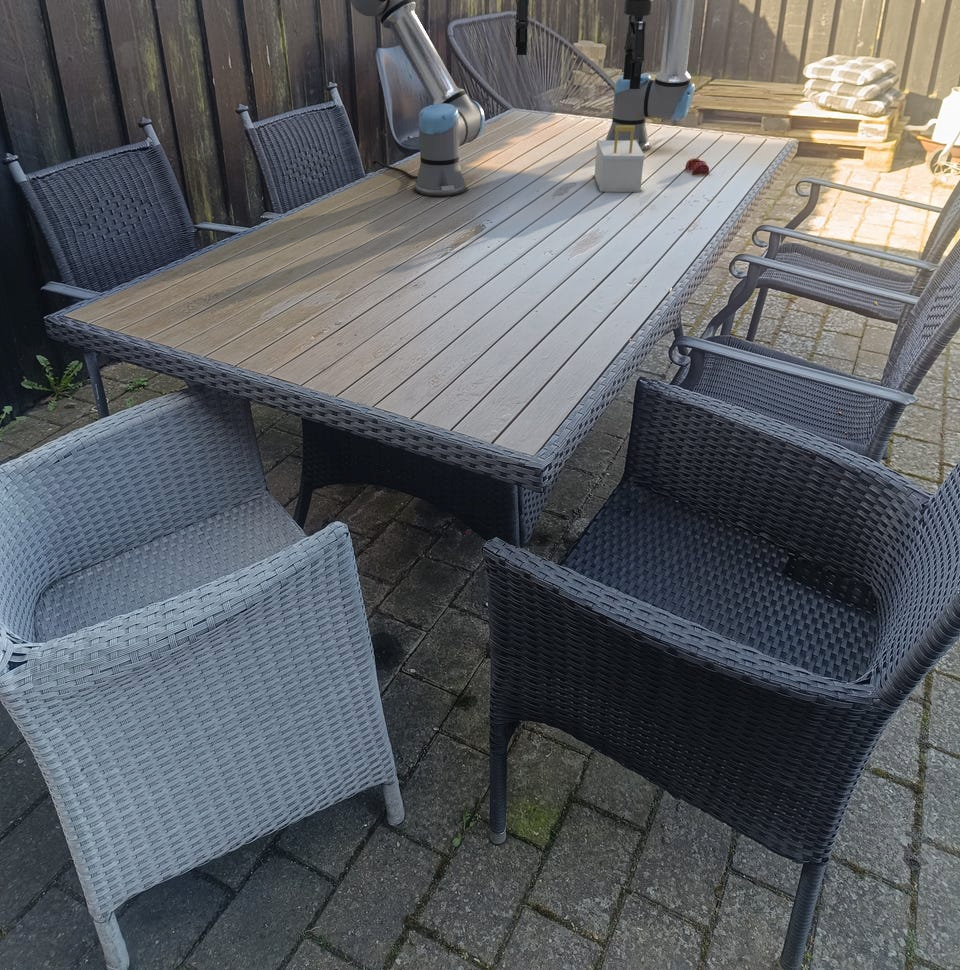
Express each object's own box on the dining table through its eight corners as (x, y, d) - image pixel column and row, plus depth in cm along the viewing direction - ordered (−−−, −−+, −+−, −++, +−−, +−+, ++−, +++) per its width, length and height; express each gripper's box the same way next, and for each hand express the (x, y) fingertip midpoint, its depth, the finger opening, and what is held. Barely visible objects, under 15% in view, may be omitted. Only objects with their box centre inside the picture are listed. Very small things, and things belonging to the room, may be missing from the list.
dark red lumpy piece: (700, 154, 275) (711, 161, 268) (699, 168, 277) (710, 175, 271) (684, 156, 274) (695, 163, 267) (683, 169, 276) (694, 176, 270)
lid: (644, 159, 250) (647, 128, 245) (603, 159, 250) (605, 128, 245) (635, 143, 265) (638, 114, 260) (596, 143, 265) (599, 114, 260)
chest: (640, 191, 257) (643, 158, 251) (600, 191, 257) (602, 158, 251) (632, 175, 271) (635, 143, 265) (594, 175, 271) (596, 143, 265)
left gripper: (539, -34, 216) (536, 58, 229) (535, -41, 237) (532, 43, 249) (510, -34, 216) (508, 58, 229) (508, -41, 237) (507, 43, 249)
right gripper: (660, 3, 216) (651, 93, 228) (646, -8, 236) (638, 75, 248) (631, 3, 216) (623, 92, 228) (619, -8, 236) (612, 75, 248)
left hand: (520, 51), depth 239 cm, fingers open, 13 cm apart
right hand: (631, 84), depth 238 cm, fingers open, 13 cm apart
